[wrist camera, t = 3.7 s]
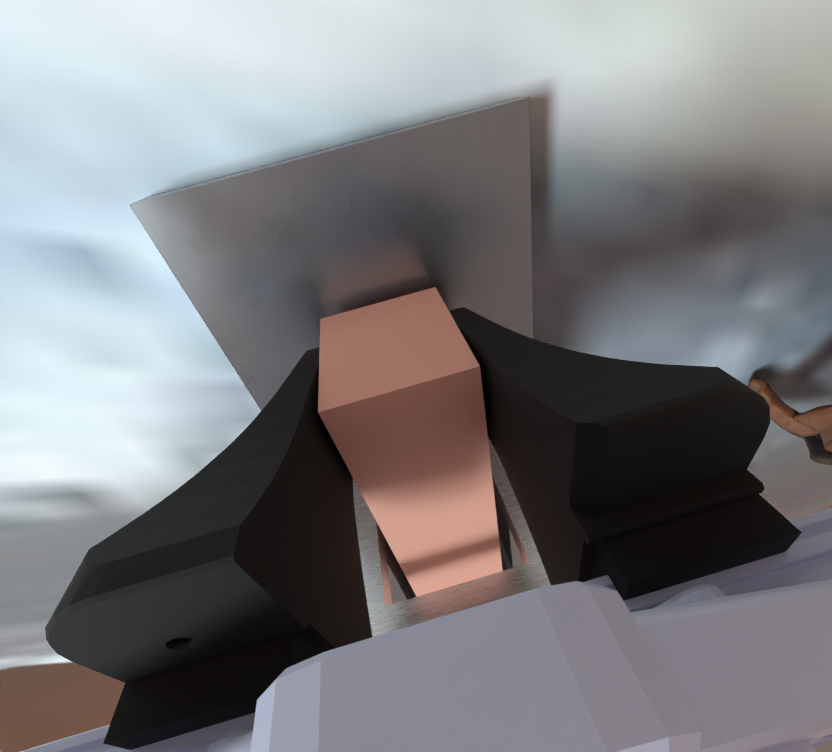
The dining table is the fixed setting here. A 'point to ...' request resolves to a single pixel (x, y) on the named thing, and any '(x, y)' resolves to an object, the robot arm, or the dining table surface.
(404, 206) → the dispenser
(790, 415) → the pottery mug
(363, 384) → the copper rectangular block
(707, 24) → the dining table surface
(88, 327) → the dining table surface
